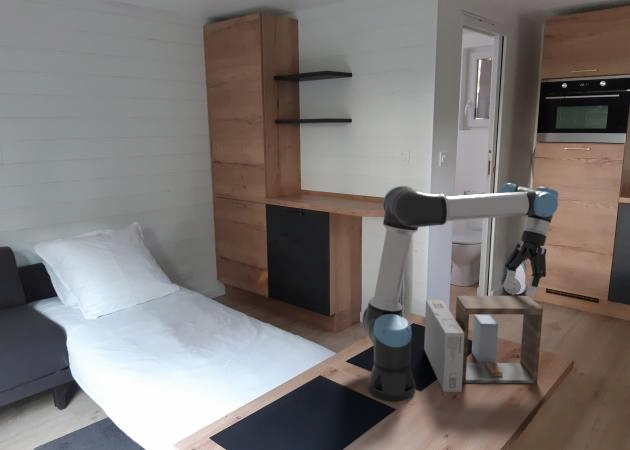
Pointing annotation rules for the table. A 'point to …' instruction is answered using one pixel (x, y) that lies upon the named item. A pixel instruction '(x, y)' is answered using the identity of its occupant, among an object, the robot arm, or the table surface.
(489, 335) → the tall grey lidded box
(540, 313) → the walnut shelf
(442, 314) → the packaging
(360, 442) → the table surface
